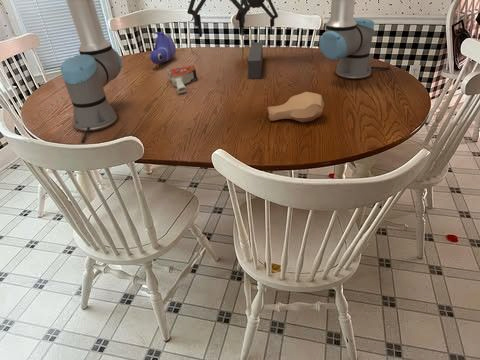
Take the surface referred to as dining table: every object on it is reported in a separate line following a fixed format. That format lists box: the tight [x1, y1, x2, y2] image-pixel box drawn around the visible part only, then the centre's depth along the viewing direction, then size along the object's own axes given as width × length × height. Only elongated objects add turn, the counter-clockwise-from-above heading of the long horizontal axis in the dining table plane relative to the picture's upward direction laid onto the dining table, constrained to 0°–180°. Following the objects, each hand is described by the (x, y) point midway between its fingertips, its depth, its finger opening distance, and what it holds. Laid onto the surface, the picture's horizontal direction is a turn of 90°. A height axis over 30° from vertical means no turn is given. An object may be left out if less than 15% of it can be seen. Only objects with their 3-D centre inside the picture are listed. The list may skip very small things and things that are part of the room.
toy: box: [148, 31, 177, 69], centre depth 182 cm, size 10×17×25 cm
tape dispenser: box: [166, 65, 198, 94], centre depth 159 cm, size 18×5×20 cm
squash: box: [266, 91, 325, 123], centre depth 125 cm, size 11×20×9 cm, turn 92°
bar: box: [247, 41, 264, 80], centre depth 171 cm, size 29×6×8 cm, turn 175°
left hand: (220, 35), depth 120 cm, fingers open, 13 cm apart
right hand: (257, 34), depth 173 cm, fingers open, 13 cm apart
